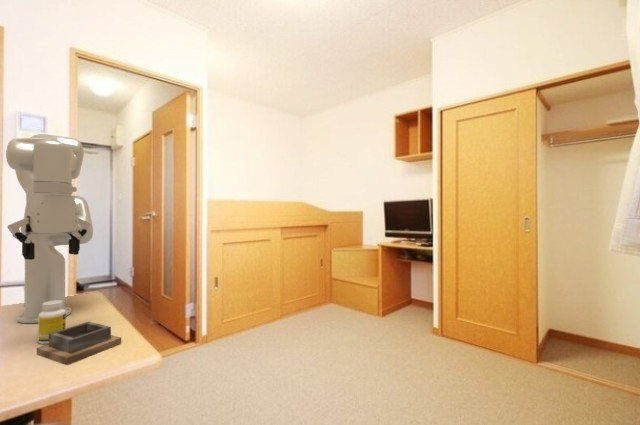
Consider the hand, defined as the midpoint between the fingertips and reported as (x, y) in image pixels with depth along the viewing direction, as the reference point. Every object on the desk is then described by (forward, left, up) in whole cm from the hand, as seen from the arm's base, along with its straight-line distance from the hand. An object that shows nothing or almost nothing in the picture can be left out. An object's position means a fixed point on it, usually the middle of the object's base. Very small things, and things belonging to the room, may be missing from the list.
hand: (52, 256), depth 80 cm
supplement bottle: (0, 0, -22) cm, 22 cm away
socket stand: (+12, 0, -22) cm, 25 cm away
